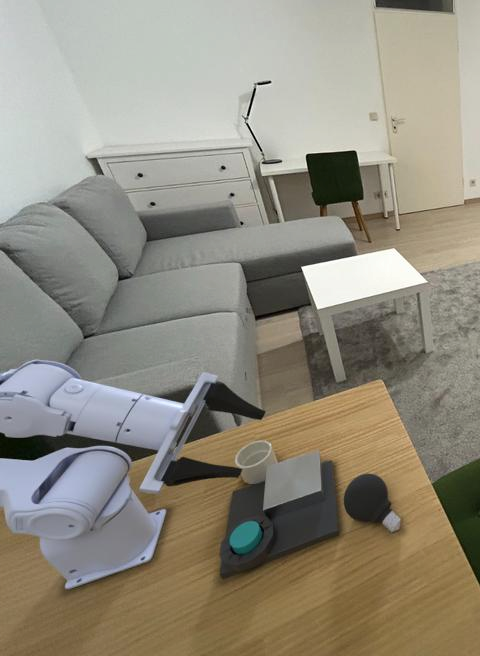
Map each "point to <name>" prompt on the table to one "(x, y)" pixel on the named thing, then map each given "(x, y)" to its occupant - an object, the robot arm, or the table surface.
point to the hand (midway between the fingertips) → (252, 443)
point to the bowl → (255, 461)
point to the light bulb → (370, 501)
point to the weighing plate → (293, 485)
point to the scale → (278, 526)
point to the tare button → (246, 537)
